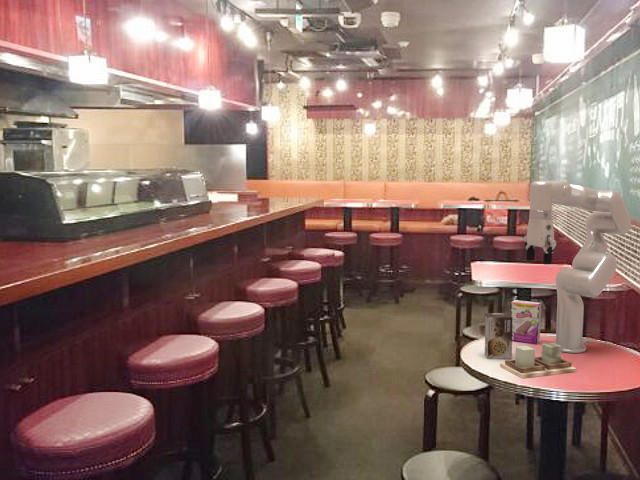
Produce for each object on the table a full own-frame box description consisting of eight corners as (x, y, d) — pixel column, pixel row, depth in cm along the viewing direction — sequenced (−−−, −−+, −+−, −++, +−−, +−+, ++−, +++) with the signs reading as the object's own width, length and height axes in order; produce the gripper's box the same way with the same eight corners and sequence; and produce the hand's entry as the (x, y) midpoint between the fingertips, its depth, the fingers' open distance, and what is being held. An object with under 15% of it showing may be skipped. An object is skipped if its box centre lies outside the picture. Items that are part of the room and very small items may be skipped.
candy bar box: (509, 341, 251) (510, 301, 249) (512, 338, 255) (513, 299, 253) (537, 344, 245) (539, 304, 243) (540, 341, 250) (541, 302, 248)
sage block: (526, 364, 217) (526, 345, 216) (534, 368, 213) (534, 349, 212) (515, 366, 216) (515, 346, 215) (523, 370, 211) (523, 350, 211)
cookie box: (508, 354, 233) (509, 312, 231) (512, 359, 227) (513, 316, 225) (484, 353, 234) (485, 312, 232) (486, 358, 228) (488, 316, 226)
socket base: (551, 360, 225) (552, 338, 224) (576, 371, 213) (577, 348, 212) (500, 366, 219) (500, 344, 218) (522, 378, 206) (523, 354, 206)
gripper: (565, 217, 215) (563, 265, 217) (534, 213, 231) (532, 258, 233) (547, 217, 213) (545, 266, 215) (517, 214, 229) (515, 259, 231)
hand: (538, 262), depth 224 cm, fingers open, 9 cm apart
